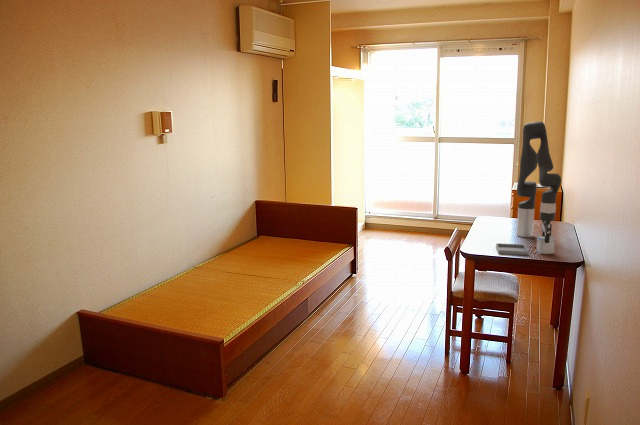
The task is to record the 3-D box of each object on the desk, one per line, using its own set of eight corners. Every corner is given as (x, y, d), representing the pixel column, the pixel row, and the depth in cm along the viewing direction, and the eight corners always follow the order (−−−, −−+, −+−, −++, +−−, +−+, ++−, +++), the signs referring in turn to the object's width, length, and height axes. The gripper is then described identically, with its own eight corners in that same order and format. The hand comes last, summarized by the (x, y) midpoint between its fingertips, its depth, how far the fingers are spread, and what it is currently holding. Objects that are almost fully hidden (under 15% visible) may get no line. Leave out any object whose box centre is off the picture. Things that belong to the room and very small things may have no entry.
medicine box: (550, 251, 284) (551, 236, 283) (554, 254, 280) (555, 238, 278) (535, 252, 284) (537, 236, 283) (539, 254, 280) (540, 238, 278)
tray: (495, 247, 295) (496, 243, 294) (524, 248, 291) (524, 244, 291) (498, 254, 281) (498, 250, 280) (528, 255, 277) (528, 251, 277)
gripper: (538, 208, 286) (535, 237, 288) (542, 213, 272) (540, 243, 275) (552, 209, 284) (550, 238, 287) (558, 213, 270) (555, 244, 273)
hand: (545, 241), depth 281 cm, fingers open, 8 cm apart
